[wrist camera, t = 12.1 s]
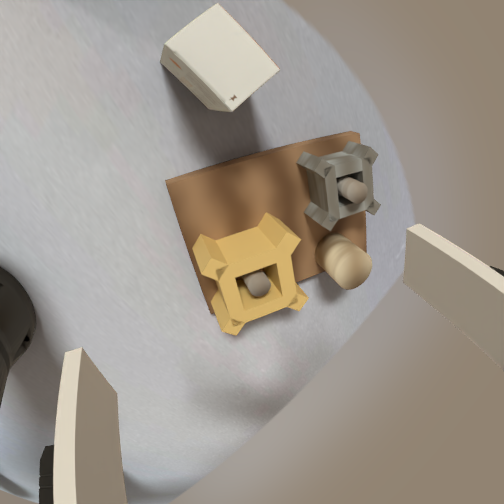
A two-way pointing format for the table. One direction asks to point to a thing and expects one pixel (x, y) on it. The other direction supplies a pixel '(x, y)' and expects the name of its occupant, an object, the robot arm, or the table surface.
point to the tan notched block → (248, 260)
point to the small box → (218, 60)
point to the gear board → (286, 206)
